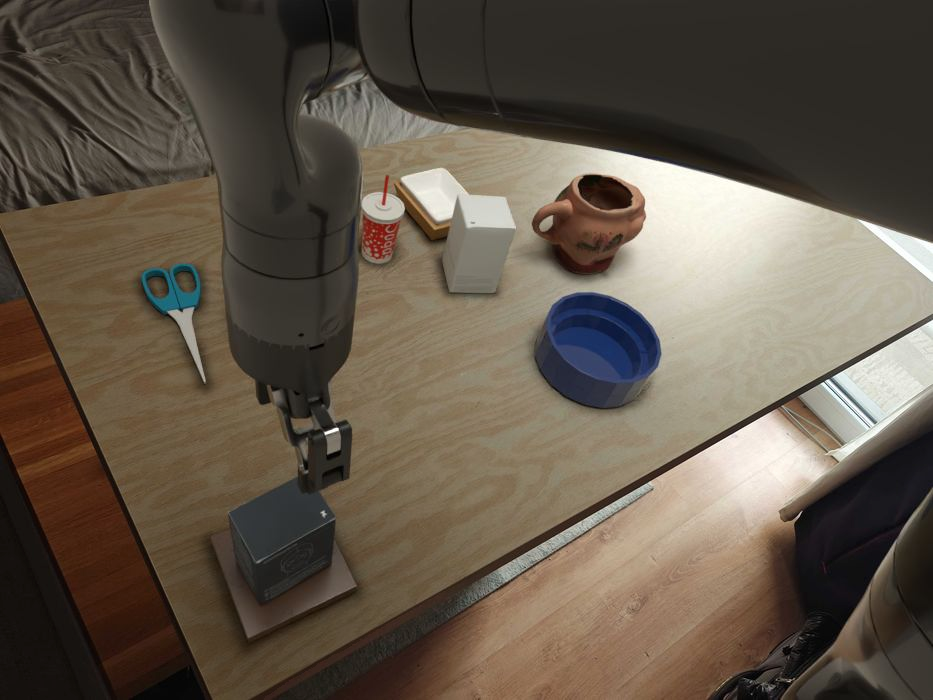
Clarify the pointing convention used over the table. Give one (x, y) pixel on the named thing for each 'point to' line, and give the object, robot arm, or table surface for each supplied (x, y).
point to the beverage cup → (380, 224)
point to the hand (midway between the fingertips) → (291, 440)
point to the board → (287, 605)
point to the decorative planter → (592, 221)
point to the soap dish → (430, 199)
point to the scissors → (172, 307)
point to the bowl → (597, 349)
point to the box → (282, 539)
